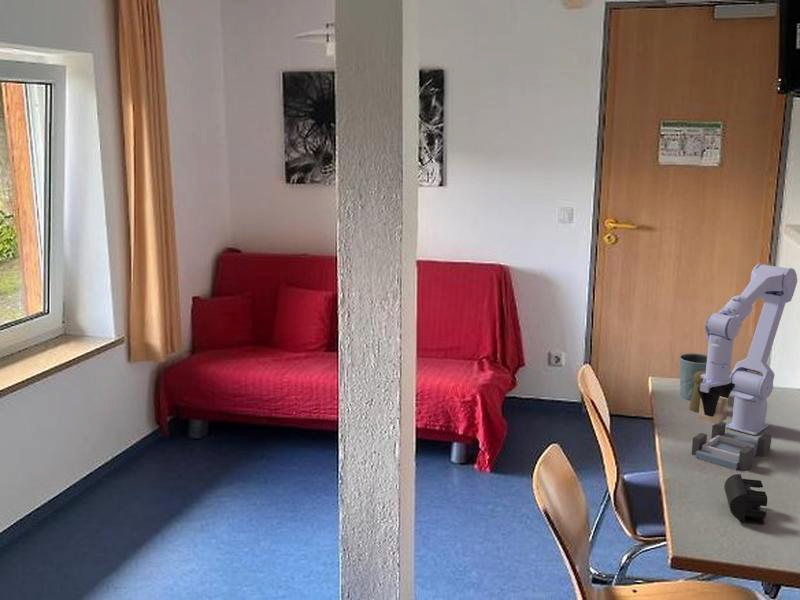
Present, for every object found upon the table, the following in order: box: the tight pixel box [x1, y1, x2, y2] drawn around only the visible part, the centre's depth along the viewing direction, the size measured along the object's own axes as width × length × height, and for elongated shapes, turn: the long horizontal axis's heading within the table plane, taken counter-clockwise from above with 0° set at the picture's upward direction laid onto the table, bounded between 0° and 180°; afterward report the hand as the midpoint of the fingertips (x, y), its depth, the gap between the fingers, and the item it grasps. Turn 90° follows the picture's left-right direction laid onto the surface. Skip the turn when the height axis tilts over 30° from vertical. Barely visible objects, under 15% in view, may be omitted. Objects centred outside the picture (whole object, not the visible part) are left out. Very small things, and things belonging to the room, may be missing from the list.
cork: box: [688, 371, 706, 414], centre depth 236 cm, size 6×6×11 cm
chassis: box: [691, 421, 772, 471], centre depth 207 cm, size 18×13×4 cm
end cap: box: [724, 473, 768, 526], centre depth 176 cm, size 10×7×7 cm
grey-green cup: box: [679, 352, 707, 402], centre depth 246 cm, size 10×10×12 cm
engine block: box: [698, 396, 729, 424], centre depth 211 cm, size 5×5×6 cm
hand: (714, 412), depth 211 cm, fingers closed on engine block, 5 cm apart
